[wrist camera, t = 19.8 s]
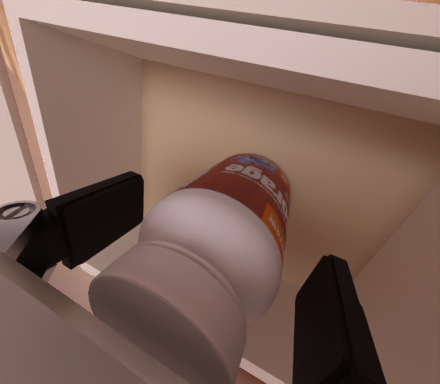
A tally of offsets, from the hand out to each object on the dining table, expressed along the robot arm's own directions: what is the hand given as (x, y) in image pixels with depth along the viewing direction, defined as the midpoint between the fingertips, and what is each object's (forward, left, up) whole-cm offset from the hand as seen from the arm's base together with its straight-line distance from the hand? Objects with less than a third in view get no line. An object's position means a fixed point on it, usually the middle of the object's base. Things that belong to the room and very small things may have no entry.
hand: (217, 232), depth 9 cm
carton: (0, 0, -7) cm, 7 cm away
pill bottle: (0, 0, -6) cm, 6 cm away
